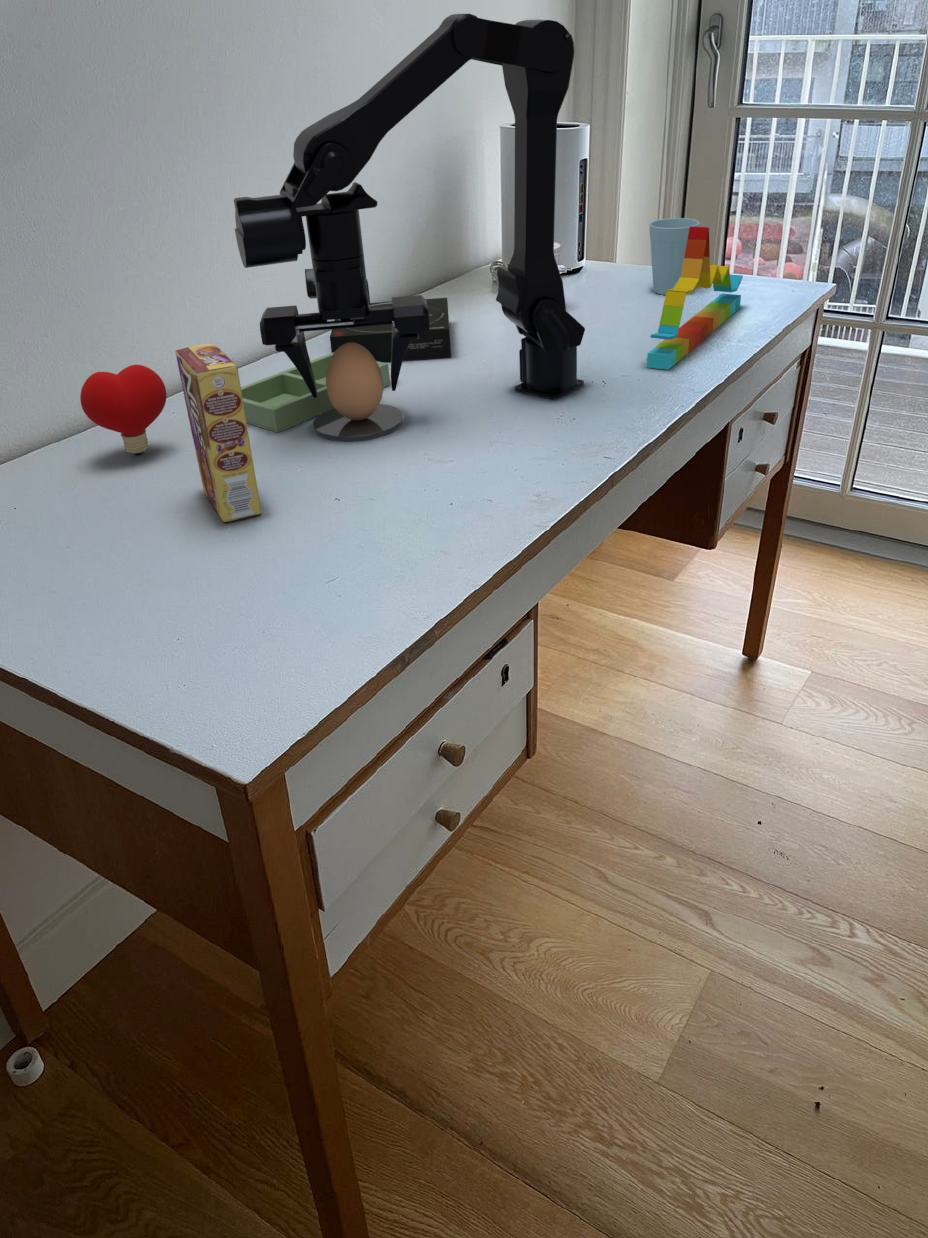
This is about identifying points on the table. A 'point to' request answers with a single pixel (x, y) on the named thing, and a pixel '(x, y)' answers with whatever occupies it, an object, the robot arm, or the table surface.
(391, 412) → the coaster
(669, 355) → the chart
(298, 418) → the tray
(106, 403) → the light bulb
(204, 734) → the table surface
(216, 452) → the candy box
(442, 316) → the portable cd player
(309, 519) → the table surface
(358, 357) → the egg
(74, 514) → the table surface
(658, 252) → the cup
